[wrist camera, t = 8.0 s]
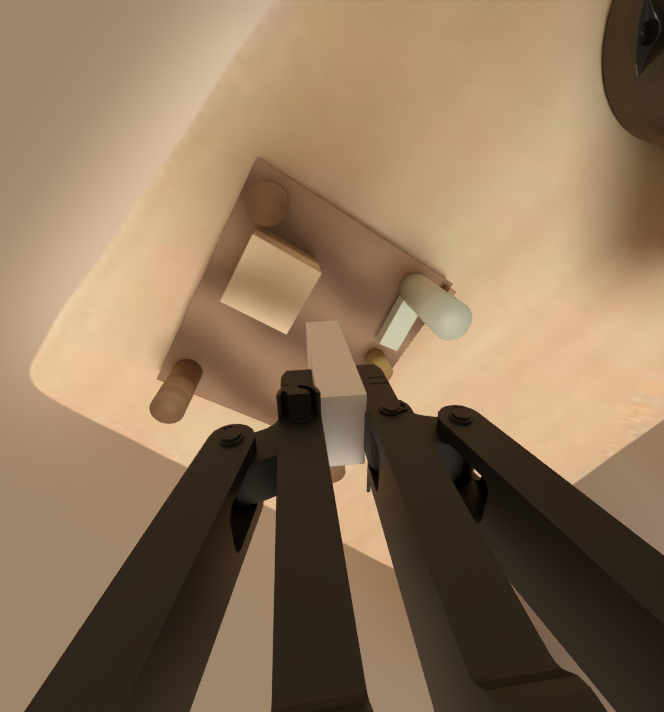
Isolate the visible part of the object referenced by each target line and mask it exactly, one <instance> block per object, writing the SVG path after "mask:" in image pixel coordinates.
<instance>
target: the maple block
mask: <svg viewBox="0 0 664 712" xmlns="http://www.w3.org/2000/svg"><path fill="white" fill-rule="evenodd" d="M321 274H322V273H321V270H320V267H319V264H318V261H317V259H316V258H314V257H312V256H310V255H309V254H307V253H305V252H304V251H302V250H300V249H298V248H297V247H295V246H293V245H292V244H290V243H288V242H286V241H285V240H283V239H281V238H280V237H278V236H276V235H274V234H273V233H271V232H269V231H268V230H266V229H264V228H263V227H261V226H258V228H257V229H256V230H255V231H254V233H253V234H252V236H251V238H250V240H249V242H248V244H247V247H246V249H245V251H244V253H243V255H242V257H241V259H240V261H239V263H238V265H237V267H236V269H235V271H234V274H233V276H232V278H231V280H230V282H229V284H228V286H227V288H226V290H225V292H224V294H223V296H222V298H221V300H220V302H222V303H224V304H226V305H228V306H230V307H232V308H234V309H236V310H238V311H240V312H242V313H244V314H246V315H248V316H250V317H252V318H254V319H256V320H258V321H260V322H262V323H264V324H266V325H268V326H270V327H272V328H274V329H276V330H278V331H280V332H282V333H284V334H286V335H287V333H288V331H289V329H290V328H291V326H292V324H293V322H294V321H295V319H296V317H297V315H298V314H299V312H300V310H301V309H302V307H303V305H304V303H305V302H306V300H307V298H308V296H309V295H310V293H311V291H312V289H313V288H314V286H315V284H316V282H317V281H318V279H319V277H320V275H321Z"/></svg>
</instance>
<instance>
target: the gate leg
mask: <svg viewBox="0 0 664 712" xmlns="http://www.w3.org/2000/svg"><path fill="white" fill-rule="evenodd" d="M417 316H419V317H420V319H421V320H422V321H423V322H424V323H425V324H426V325H427V326H428V327H429V328H430V329H431V330H432V331H433V332H434V333H435V334H436V335H437V336H438V337H439V338H441V339H443V340H454V339H457V338H459V337H461V336H462V335H464V334H465V333H466V332H467V331H468V329H469V327H470V325H471V322H472V313H471V310H470V309H469V307H468V306H467V305H465V304H464V303H462V302H461V301H459V300H458V299H457V298H455V297H454V296H452V295H451V294H449V293H448V292H446V291H445V290H443V289H442V288H441V287H439V286H438V285H436V284H435V283H433V282H432V281H430V280H429V279H428V278H426V277H425V276H423V275H421V274H417V273H414V274H410V275H408V276H406V277H405V278H404V279H403V280H402V282H401V283H400V286H399V296H398V298H397V300H396V302H395V303H394V305H393V307H392V309H391V311H390V313H389V314H388V316H387V318H386V320H385V322H384V323H383V325H382V327H381V329H380V331H379V333H378V334H377V336H376V339H377V341H378V342H379V344H381V345H383V346H386V347H388V348H391V349H393V350H396V351H398V349H399V347H400V346H401V344H402V342H403V340H404V339H405V337H406V335H407V334H408V332H409V330H410V328H411V327H412V325H413V323H414V322H415V320H416V318H417Z"/></svg>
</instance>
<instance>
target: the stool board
mask: <svg viewBox="0 0 664 712" xmlns="http://www.w3.org/2000/svg"><path fill="white" fill-rule="evenodd" d="M258 226H261V227H263V228H264V229H266V230H268V231H269V232H271V233H273V234H274V235H276V236H278V237H280V238H281V239H283V240H285V241H286V242H288V243H290V244H292V245H293V246H295V247H297V248H298V249H300V250H302V251H304V252H305V253H307V254H309V255H310V256H312V257H314V258H316V259H317V261H318V264H319V267H320V270H321V273H322V274H321V275H320V277H319V279H318V281H317V282H316V284H315V286H314V288H313V289H312V291H311V293H310V295H309V296H308V298H307V300H306V302H305V303H304V305H303V307H302V309H301V310H300V312H299V314H298V315H297V317H296V319H295V321H294V322H293V324H292V326H291V328H290V329H289V331H288V333H287V335H286V334H284V333H282V332H280V331H278V330H276V329H274V328H272V327H270V326H268V325H266V324H264V323H262V322H260V321H258V320H256V319H254V318H252V317H250V316H248V315H246V314H244V313H242V312H240V311H238V310H236V309H234V308H232V307H230V306H228V305H226V304H224V303H222V302H220V300H221V298H222V296H223V294H224V292H225V290H226V288H227V286H228V284H229V282H230V280H231V278H232V276H233V274H234V271H235V269H236V267H237V265H238V263H239V261H240V259H241V257H242V255H243V253H244V251H245V249H246V247H247V244H248V242H249V240H250V238H251V236H252V234H253V233H254V231H255V230H256V229H257V228H258ZM414 273H417V274H421V275H423V276H425V277H426V278H428V279H429V280H430V281H432V282H433V283H435V284H436V285H438V286H439V287H441V288H442V289H443V290H445V291H446V292H448V293H449V294H451V295H452V296H453V295H454V294H455V293H456V291H454V290H453V289H451V288H450V287H451V286H452V285H453V283H451V282H450V281H448V280H447V279H445V278H443V277H442V276H440V275H439V274H437V273H436V272H434V271H433V270H431V269H430V268H428V267H426V266H425V265H423V264H422V263H420V262H419V261H417V260H416V259H414V258H413V257H411V256H409V255H408V254H406V253H405V252H403V251H402V250H400V249H399V248H397V247H396V246H394V245H393V244H391V243H389V242H388V241H386V240H385V239H383V238H382V237H380V236H379V235H377V234H376V233H374V232H372V231H371V230H369V229H368V228H366V227H365V226H363V225H362V224H360V223H359V222H357V221H355V220H354V219H352V218H351V217H349V216H348V215H346V214H345V213H343V212H342V211H340V210H338V209H337V208H335V207H334V206H332V205H331V204H329V203H328V202H326V201H325V200H323V199H321V198H320V197H318V196H317V195H315V194H314V193H312V192H311V191H309V190H308V189H306V188H304V187H303V186H301V185H300V184H298V183H297V182H295V181H294V180H292V179H291V178H289V177H287V176H286V175H284V174H283V173H281V172H280V171H278V170H277V169H275V168H274V167H272V166H271V165H269V164H267V163H266V162H264V161H263V160H261V159H260V158H258V157H257V158H256V160H255V162H254V165H253V167H252V169H251V171H250V173H249V176H248V178H247V180H246V182H245V185H244V187H243V189H242V191H241V193H240V196H239V198H238V200H237V202H236V204H235V207H234V209H233V211H232V213H231V216H230V218H229V220H228V222H227V224H226V227H225V229H224V231H223V233H222V235H221V238H220V240H219V242H218V244H217V247H216V249H215V251H214V253H213V255H212V258H211V260H210V262H209V264H208V266H207V269H206V271H205V273H204V275H203V278H202V280H201V282H200V284H199V286H198V289H197V291H196V293H195V295H194V297H193V300H192V302H191V304H190V306H189V309H188V311H187V313H186V315H185V317H184V320H183V322H182V324H181V326H180V328H179V331H178V333H177V335H176V337H175V340H174V342H173V344H172V346H171V348H170V351H169V353H168V355H167V357H166V359H165V362H164V364H163V366H162V368H161V371H160V373H159V375H158V377H157V380H160V381H162V382H164V383H163V385H162V386H161V388H160V390H159V391H158V393H157V394H156V396H155V397H154V399H153V400H152V402H151V404H150V413H151V415H152V416H153V417H154V418H155V419H156V420H158V421H160V422H162V423H167V424H171V423H176V422H178V421H180V420H181V419H182V417H183V416H184V414H185V411H186V409H187V407H188V405H189V403H190V401H191V399H192V396H193V394H195V395H197V396H200V397H202V398H205V399H207V400H209V401H212V402H214V403H217V404H219V405H222V406H224V407H227V408H229V409H232V410H234V411H237V412H239V413H242V414H244V415H247V416H249V417H252V418H254V419H257V420H259V421H262V422H264V423H267V424H269V425H273V424H274V423H276V422H277V420H278V412H277V401H276V395H277V392H278V391H279V390H280V389H281V377H282V375H283V374H284V373H285V372H286V371H290V370H305V369H308V357H307V336H306V322H319V321H338V322H339V325H340V327H341V330H342V333H343V335H344V338H345V340H346V343H347V345H348V348H349V350H350V353H351V355H352V358H353V360H354V363H355V365H365V364H375V365H376V366H378V367H379V368H380V369H382V370H383V372H384V374H385V376H386V378H387V380H389V379H390V378H391V376H392V374H393V369H392V368H393V366H394V365H395V364H396V362H397V361H398V359H399V358H400V357H401V355H402V354H403V353H404V351H405V350H406V348H407V347H408V346H409V344H410V343H411V341H412V340H413V339H414V337H415V336H416V335H417V333H418V332H419V330H420V329H421V328H422V326H423V325H424V322H423V321H422V320H421V319H420V317H419V316H417V318H416V320H415V322H414V323H413V325H412V327H411V328H410V330H409V332H408V334H407V335H406V337H405V339H404V340H403V342H402V344H401V346H400V347H399V349H398V351H396V350H393V349H391V348H388V347H386V346H383V345H381V344H379V342H378V341H377V339H376V336H377V334H378V333H379V331H380V329H381V327H382V325H383V323H384V322H385V320H386V318H387V316H388V314H389V313H390V311H391V309H392V307H393V305H394V303H395V302H396V300H397V298H398V296H399V286H400V283H401V282H402V280H403V279H404V278H405V277H406V276H408V275H410V274H414ZM330 471H331V478H332V483H335V482H337V481H339V480H341V479H342V478H343V477H344V475H345V466H344V465H342V466H332V467H330Z"/></svg>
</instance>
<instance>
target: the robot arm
mask: <svg viewBox="0 0 664 712" xmlns="http://www.w3.org/2000/svg"><path fill="white" fill-rule="evenodd" d="M603 71H604V81H605V87H606V92H607V96H608V99H609V102H610V105H611V107H612V109H613V112H614V113H615V115H616V117H617V118H618V120H619V121H620V123H621V124H622V125H623V126H624V127H625V128H626V129H627V130H628V131H629V132H630V133H632V134H633V135H635V136H636V137H638V138H640V139H642V140H645V141H648V142H652V143H657V144H664V0H614V2H613V6H612V9H611V12H610V16H609V20H608V25H607V30H606V35H605V43H604V54H603ZM306 336H307V357H308V369H305V370H290V371H286V372H285V373H284V374H283V375H282V377H281V389H280V390H279V391H278V392H277V395H276V401H277V412H278V420H277V422H276V423H274V424H273V425H272V426H270V427H268V428H266V429H264V430H261V431H258V432H254V431H253V429H252V428H250V427H249V426H247V425H242V424H231V425H227V426H223V427H221V428H219V429H217V430H215V431H214V432H213V433H212V434H211V435H210V436H209V437H208V439H207V440H206V442H205V443H204V445H203V446H202V448H201V449H200V451H199V452H198V454H197V455H196V457H195V458H194V460H193V461H192V463H191V464H190V466H189V467H188V469H187V470H186V472H185V473H184V475H183V476H182V478H181V479H180V481H179V482H178V484H177V485H176V486H175V488H174V489H173V491H172V493H171V494H170V495H169V497H168V498H167V500H166V501H165V503H164V504H163V506H162V507H161V509H160V510H159V512H158V513H157V515H156V516H155V518H154V519H153V521H152V522H151V524H150V525H149V527H148V528H147V530H146V531H145V533H144V534H143V536H142V537H141V539H140V540H139V542H138V543H137V545H136V546H135V548H134V549H133V551H132V552H131V554H130V555H129V557H128V558H127V559H126V561H125V562H124V564H123V565H122V567H121V568H120V570H119V571H118V573H117V575H116V576H115V577H114V579H113V580H112V582H111V583H110V585H109V586H108V588H107V589H106V591H105V592H104V594H103V595H102V597H101V598H100V600H99V601H98V603H97V604H96V606H95V607H94V609H93V610H92V612H91V613H90V615H89V616H88V618H87V619H86V621H85V622H84V624H83V625H82V627H81V628H80V629H79V631H78V632H77V634H76V635H75V637H74V638H73V640H72V641H71V643H70V644H69V646H68V647H67V649H66V651H65V652H64V653H63V655H62V656H61V658H60V659H59V661H58V662H57V664H56V665H55V667H54V668H53V670H52V671H51V673H50V674H49V676H48V677H47V679H46V680H45V682H44V683H43V685H42V686H41V688H40V689H39V691H38V692H37V694H36V695H35V697H34V698H33V699H32V701H31V703H30V704H29V705H28V707H27V708H26V710H25V711H24V712H190V709H191V706H192V704H193V701H194V698H195V695H196V692H197V690H198V687H199V684H200V681H201V678H202V676H203V673H204V670H205V667H206V664H207V662H208V659H209V656H210V653H211V650H212V648H213V645H214V642H215V639H216V637H217V634H218V631H219V628H220V625H221V623H222V620H223V617H224V614H225V611H226V609H227V606H228V603H229V600H230V597H231V595H232V592H233V589H234V586H235V583H236V581H237V578H238V575H239V572H240V569H241V567H242V564H243V561H244V558H245V555H246V553H247V550H248V547H249V544H250V542H251V539H252V536H253V533H254V530H255V527H256V525H257V522H258V519H259V516H260V514H261V510H262V508H263V502H264V501H265V500H267V499H270V498H272V497H275V496H276V538H275V540H276V541H275V582H274V584H275V585H274V626H273V670H272V675H273V676H272V708H271V712H373V709H372V706H371V704H370V702H369V699H368V695H367V689H366V684H365V679H364V673H363V666H362V660H361V654H360V648H359V642H358V636H357V630H356V623H355V617H354V611H353V605H352V599H351V593H350V587H349V581H348V575H347V569H346V563H345V557H344V550H343V544H342V538H341V532H340V526H339V520H338V514H337V508H336V502H335V496H334V490H333V484H332V478H331V471H330V467H332V466H342V465H353V464H363V463H364V461H365V454H366V457H367V460H368V468H367V492H370V486H371V489H372V492H373V496H374V499H375V503H376V506H377V510H378V514H379V517H380V521H381V524H382V528H383V531H384V535H385V538H386V542H387V545H388V549H389V552H390V556H391V560H392V563H393V567H394V570H395V574H396V577H397V580H398V584H399V588H400V591H401V595H402V598H403V602H404V605H405V609H406V613H407V616H408V619H409V623H410V626H411V630H412V634H413V637H414V641H415V644H416V648H417V651H418V655H419V658H420V662H421V666H422V669H423V673H424V676H425V680H426V683H427V686H428V690H429V694H430V697H431V700H432V704H433V708H434V712H607V711H606V709H605V707H604V706H603V704H602V703H601V702H600V700H599V699H598V697H597V696H596V695H595V693H594V692H593V691H592V689H591V688H590V687H589V686H588V685H587V684H586V683H585V682H584V681H583V680H582V679H581V678H580V677H579V676H578V675H575V674H573V673H571V672H568V671H566V670H564V669H562V668H561V667H560V666H559V665H558V664H557V663H556V662H555V661H554V659H553V658H552V656H551V655H550V653H549V652H548V650H547V648H546V646H545V645H544V643H543V641H542V639H541V638H540V636H539V634H538V632H537V631H536V629H535V627H534V625H533V624H532V622H531V620H530V618H529V616H528V615H527V613H526V611H525V609H524V607H523V606H522V604H521V602H520V600H519V599H518V597H517V595H516V594H515V591H514V590H513V588H512V586H511V584H512V585H513V587H515V589H516V590H517V591H518V593H519V594H520V595H521V596H522V597H523V599H524V600H525V601H526V602H527V604H528V605H529V606H530V607H531V608H532V610H533V611H534V612H535V613H536V615H537V616H538V617H539V618H540V619H541V621H542V622H543V623H544V624H545V626H546V627H547V628H548V629H549V630H550V632H551V633H552V634H553V635H554V636H555V638H556V639H557V640H558V641H559V643H560V644H561V645H562V646H563V647H564V649H565V650H566V651H567V652H568V654H569V655H570V656H571V657H572V658H573V660H574V661H575V662H576V663H577V664H578V666H579V667H580V668H581V669H582V670H583V672H584V673H585V674H586V675H587V676H588V678H589V679H590V680H591V681H592V683H593V684H594V685H595V686H596V688H597V689H598V690H599V691H600V692H601V694H602V695H603V696H604V697H605V699H606V700H607V701H608V702H609V703H610V705H611V706H612V707H613V708H614V709H615V710H616V712H664V555H662V554H661V553H660V552H658V551H657V550H656V549H655V548H653V547H652V546H651V545H649V544H648V543H647V542H645V541H644V540H643V539H641V538H640V537H639V536H638V535H636V534H635V533H634V532H632V531H631V530H630V529H628V528H627V527H626V526H625V525H623V524H622V523H621V522H619V521H618V520H617V519H616V518H614V517H613V516H612V515H610V514H609V513H608V512H607V511H605V510H604V509H603V508H601V507H600V506H599V505H597V504H596V503H595V502H593V501H592V500H591V499H590V498H588V497H587V496H586V495H584V494H583V493H582V492H580V491H579V490H578V489H577V488H575V487H574V486H573V485H571V484H570V483H569V482H568V481H566V480H565V479H564V478H562V477H561V476H560V475H559V474H557V473H556V472H555V471H553V470H552V469H551V468H549V467H548V466H547V465H546V464H544V463H543V462H542V461H540V460H539V459H538V458H536V457H535V456H534V455H533V454H531V453H530V452H529V451H527V450H526V449H525V448H523V447H522V446H521V445H520V444H518V443H517V442H516V441H514V440H513V439H512V438H510V437H509V436H508V435H507V434H505V433H504V432H503V431H501V430H500V429H499V428H498V427H496V426H495V425H494V424H492V423H491V422H490V421H488V420H487V419H486V418H485V417H483V416H482V415H481V414H479V413H478V412H476V411H475V410H473V409H471V408H468V407H465V406H460V405H450V406H445V407H443V408H441V409H440V411H439V412H438V417H431V416H423V415H418V414H415V413H414V412H413V411H412V409H411V407H410V406H409V405H408V404H407V403H405V402H403V401H401V400H398V399H397V397H396V395H395V393H394V391H393V389H392V387H391V386H390V384H389V382H388V380H387V378H386V376H385V374H384V372H383V370H382V369H380V368H379V367H378V366H376V365H375V364H365V365H355V363H354V360H353V358H352V355H351V353H350V350H349V348H348V345H347V343H346V340H345V338H344V335H343V333H342V330H341V327H340V325H339V322H338V321H319V322H306ZM474 469H475V470H476V471H477V472H478V473H479V474H480V475H481V476H482V477H481V478H480V477H479V476H477V475H476V474H475V473H474V472H473V471H474ZM508 580H509V581H508ZM509 582H510V583H511V584H510V583H509Z"/></svg>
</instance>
